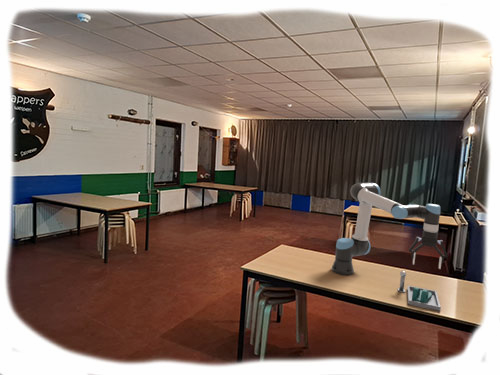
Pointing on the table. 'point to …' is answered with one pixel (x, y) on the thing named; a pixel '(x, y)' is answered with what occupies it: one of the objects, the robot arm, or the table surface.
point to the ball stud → (402, 282)
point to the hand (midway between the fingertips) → (426, 266)
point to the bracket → (421, 295)
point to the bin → (431, 304)
